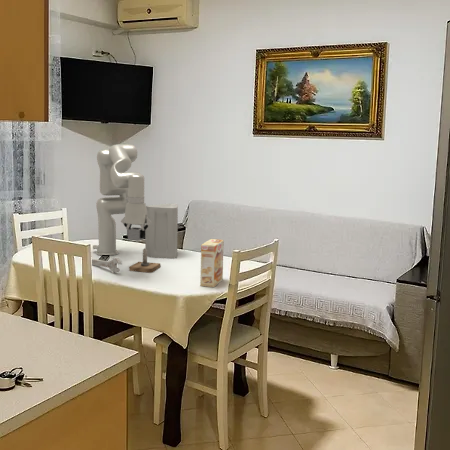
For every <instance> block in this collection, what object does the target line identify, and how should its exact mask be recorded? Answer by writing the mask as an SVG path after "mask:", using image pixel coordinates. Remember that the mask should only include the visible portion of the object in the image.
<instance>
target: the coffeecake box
mask: <svg viewBox="0 0 450 450" xmlns="http://www.w3.org/2000/svg"><path fill="white" fill-rule="evenodd" d="M224 242H225V241H224V239H217V238H216V239H215V238H210V239H208V240H207V241H204V243H202V244H201V245H200V276H199V277H200V282H199V286H200V287H208V288H215V287H216V286H217V285H218V284H219V283H221V281H222V280H223V279H224V271H223V270H224Z"/></svg>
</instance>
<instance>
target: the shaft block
mask: <svg viewBox="0 0 450 450" xmlns="http://www.w3.org/2000/svg"><path fill="white" fill-rule="evenodd" d="M128 267H129V268H128V271H129V272H138V273H139V272H140V273H149V274H151V273H154V272H155V271H157V270H158V269H160V268H161V263H159V262H148V257H147V249H146V248H145V247H144V248H143V249H142V261H137V262H135V263H134V264H132V265H130V266H128Z"/></svg>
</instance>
